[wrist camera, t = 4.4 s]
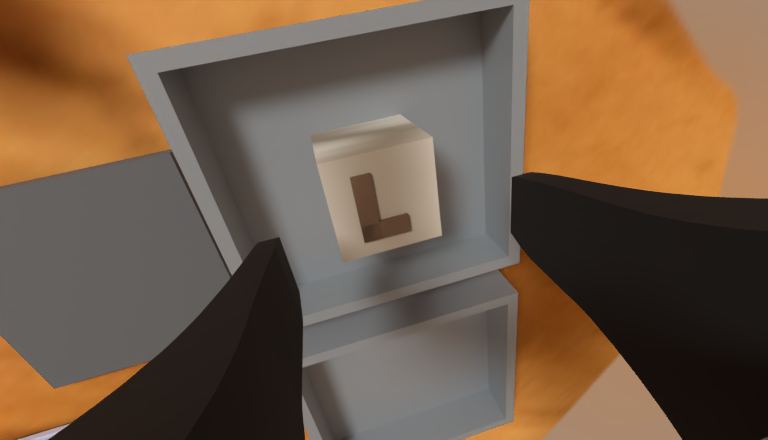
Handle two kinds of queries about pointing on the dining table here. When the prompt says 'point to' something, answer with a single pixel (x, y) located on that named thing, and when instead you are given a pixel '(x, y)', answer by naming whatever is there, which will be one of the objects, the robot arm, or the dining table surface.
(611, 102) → the dining table surface
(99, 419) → the robot arm
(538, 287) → the dining table surface
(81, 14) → the dining table surface
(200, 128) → the tray
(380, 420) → the tray
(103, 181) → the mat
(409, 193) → the letter cube
